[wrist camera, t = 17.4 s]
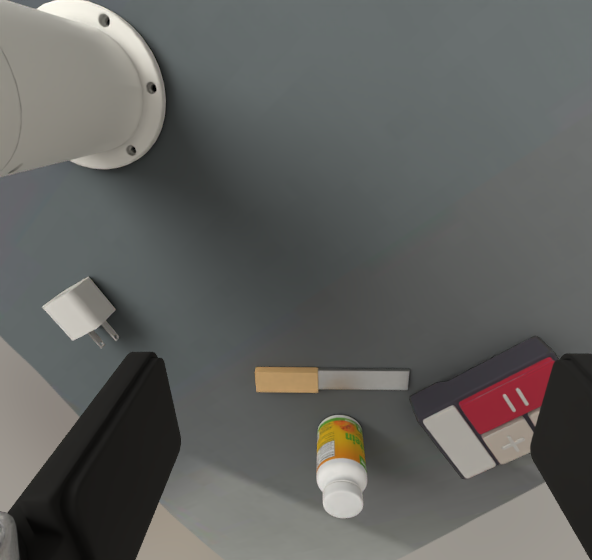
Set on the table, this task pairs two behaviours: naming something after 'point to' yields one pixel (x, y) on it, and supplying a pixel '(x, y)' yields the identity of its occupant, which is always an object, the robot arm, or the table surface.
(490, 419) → the calculator
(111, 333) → the usb wall charger
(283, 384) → the chisel
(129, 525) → the robot arm
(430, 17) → the table surface
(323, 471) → the supplement bottle
